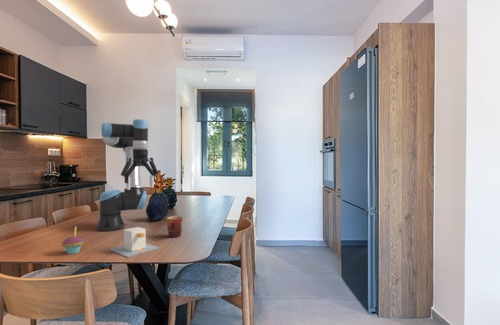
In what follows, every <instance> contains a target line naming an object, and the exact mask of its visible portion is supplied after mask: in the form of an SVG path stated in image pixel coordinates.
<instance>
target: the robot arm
mask: <svg viewBox="0 0 500 325" xmlns="http://www.w3.org/2000/svg"><path fill="white" fill-rule="evenodd" d="M101 137H102V141H103V143H104V144H105V145H107V146H109V147H111V148H115V149H122V151H123V153H125V154H124V156H125V165H124V166H123V168H122V171H121V173H120V176H121V177H124V183H125V188H124V189H123V191H122V190H121V189H114V190H113V189H112V190H107V191H104V192H101V193H100V195H99V218H98V221H97V224H96V231H99V232H113V231H119V230H122V229H124V228H125V223H124V221H123V218H122V211H131V210H132V211H133V210H134V211H135V210H136V211H137V210H143V209H144V208H145V206H146V201H147V191H146V190H144V187H143V186H142V185H141V182H142V181H141V167H144V168H145V169H146V170H147V172H148V173H149V174H150V175H149V188H154V186H155V185H154V184H155V181H156V176H157V175H158V174H159V171H158V169H157V166H156V163H155V162H154V157H148V156H149V150H148V148H149V141H148V140H149V122H148V120H146V119H134V120H132V123H130V124H126V123H113V122H112V123H111V122H105V123H102V124H101Z"/></svg>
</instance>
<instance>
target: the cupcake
mask: <svg viewBox="0 0 500 325" xmlns="http://www.w3.org/2000/svg"><path fill="white" fill-rule="evenodd" d="M76 235H77V225H75V226H74V233H73V236H69V237H68V238H66V239H64V240H63V241H62V244H61V245H62V247H63V248H64V249H65V251H66V254H69V255H73V254H77V253H79V252H80V250H81V247H82V245H84V243H85V241H84V240H85V239H83V237H80V236H76Z"/></svg>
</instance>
